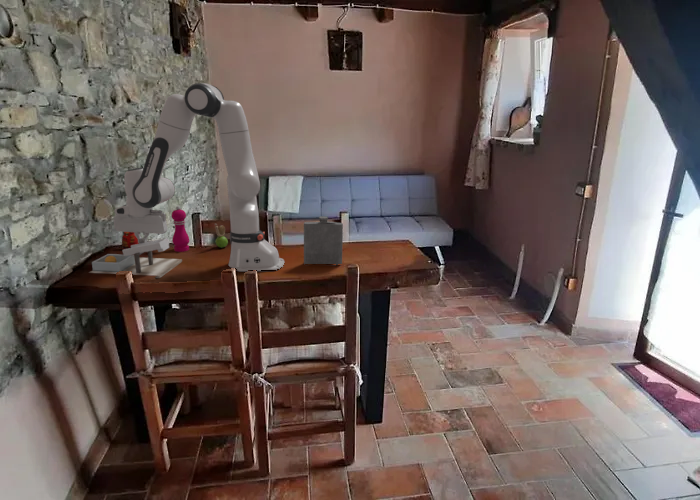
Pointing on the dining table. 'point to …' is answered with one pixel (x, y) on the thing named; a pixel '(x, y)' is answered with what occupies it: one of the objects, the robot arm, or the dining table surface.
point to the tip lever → (147, 247)
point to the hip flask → (323, 242)
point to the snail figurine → (221, 236)
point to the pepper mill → (180, 231)
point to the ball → (110, 259)
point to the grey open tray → (120, 265)
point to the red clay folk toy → (129, 240)
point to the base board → (149, 266)
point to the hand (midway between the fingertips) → (142, 242)
